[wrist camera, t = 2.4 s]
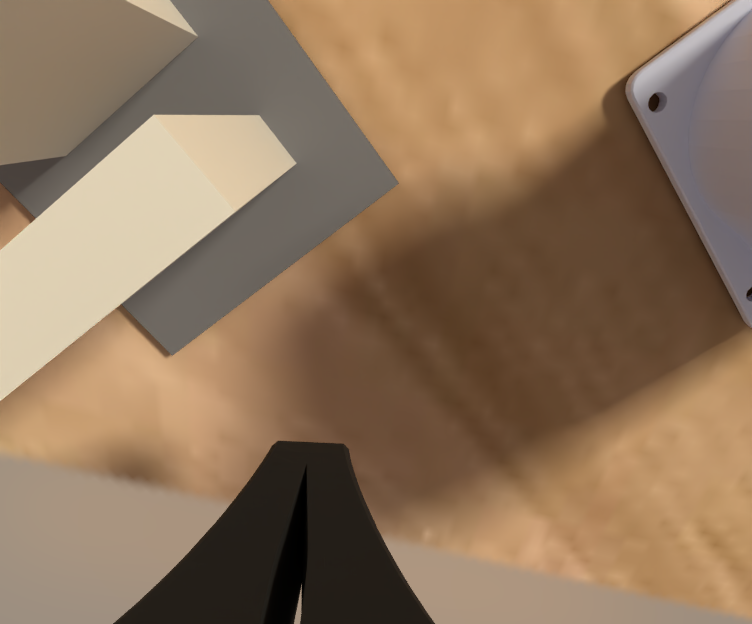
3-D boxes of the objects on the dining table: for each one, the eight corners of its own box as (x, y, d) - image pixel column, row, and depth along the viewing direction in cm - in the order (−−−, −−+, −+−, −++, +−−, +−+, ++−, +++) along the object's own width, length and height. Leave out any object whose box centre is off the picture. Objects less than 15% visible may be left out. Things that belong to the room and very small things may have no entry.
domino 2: (296, 163, 15) (235, 211, 7) (168, 266, 16) (-2, 401, 8) (259, 115, 14) (153, 114, 7) (129, 224, 15) (-88, 327, 8)
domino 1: (198, 36, 14) (7, -58, 6) (65, 156, 15) (-240, 198, 7) (154, -21, 13) (-111, -199, 6) (20, 106, 14) (-359, 96, 7)
